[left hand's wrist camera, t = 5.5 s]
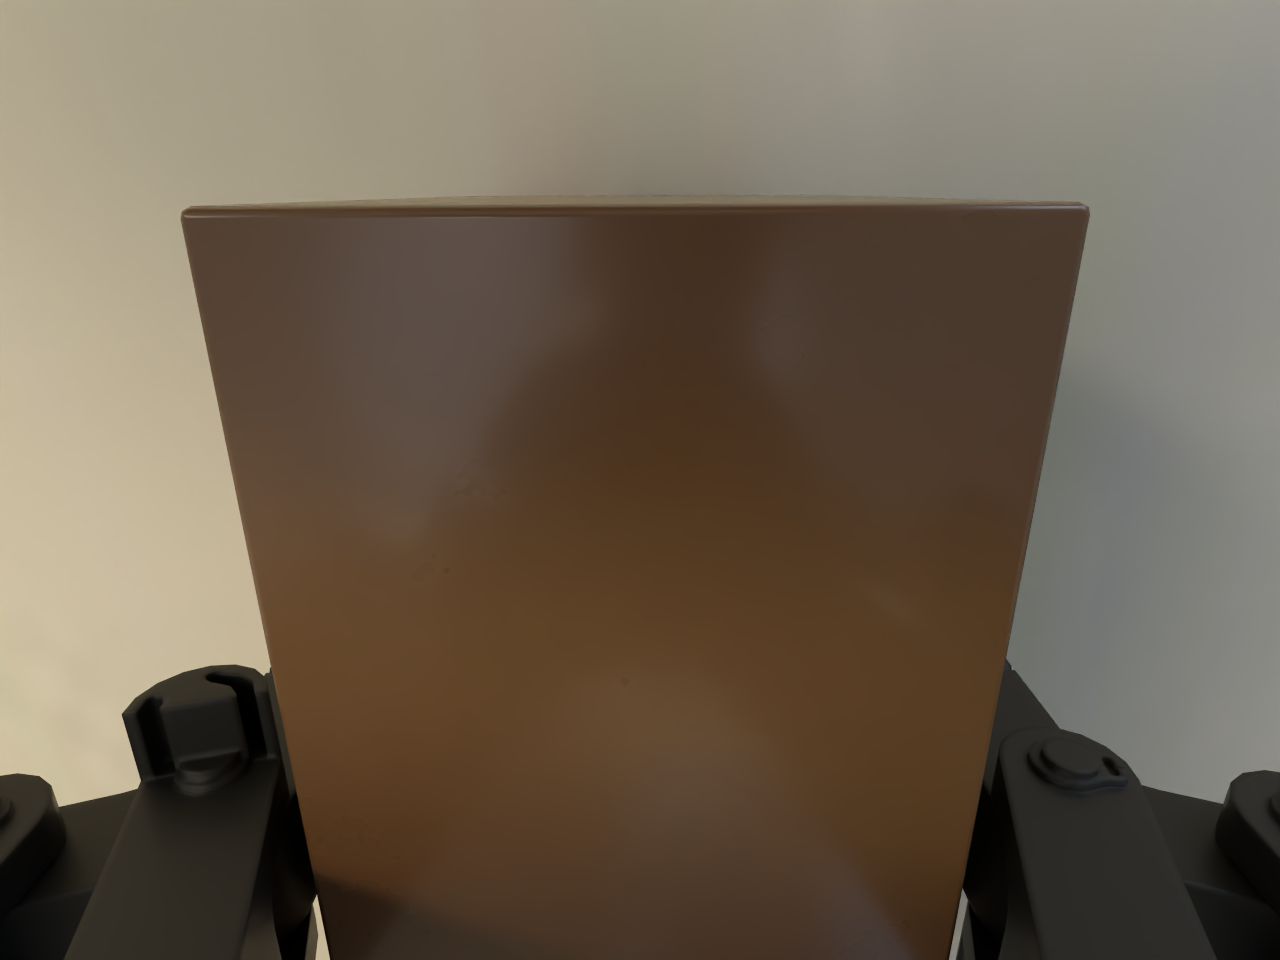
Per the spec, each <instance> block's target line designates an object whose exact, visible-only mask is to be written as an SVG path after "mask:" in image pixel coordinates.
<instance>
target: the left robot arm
mask: <svg viewBox="0 0 1280 960" xmlns="http://www.w3.org/2000/svg"><path fill="white" fill-rule="evenodd" d="M122 717H123V720H124V724H125V727H126V731H127V734H128V738H129V741H130V744H131V748H132V751H133V755H134V758H135V762H136V765H137V769H138V772H139V775H140V779H141V782H140V785H139V787H138V789H135V790H132V791H128V792H125V793H121V794H117V795H112V796H107V797H103V798H98V799H94V800H89V801H85V802H80V803H75V804H71V805H66V806H62V807H58V804H57V801H56V798H55V795H54V792H53V789H52V786H51V785H50V784H48V783H47V782H46V781H45V780H43V779H42V778H41V777H40V776H34V775H26V774H18V773H17V774H10V775H4V776H0V960H315V958H316V949H317V940H318V932H317V925H316V918H315V913H314V908H313V902H314V900H315V897H316V895H317V891H316V886H315V881H314V876H313V871H312V866H311V861H310V856H309V851H308V846H307V842H306V837H305V832H304V827H303V822H302V817H301V812H300V807H299V802H298V797H297V792H296V787H295V782H294V777H293V772H292V767H291V762H290V757H289V752H288V747H287V743H286V738H285V733H284V728H283V723H282V718H281V713H280V708H279V703H278V698H277V693H276V688H275V683H274V678H273V673H272V668H270V673H266V674H265V675H264V676H263V675H262V674H260V673H259V672H258V671H257V670H256V669H253V668H249V667H244V666H239V665H217V666H208V667H204V668H199V669H195V670H191V671H187V672H183V673H181V674H178V675H176V676H174V677H171V678H169V679H167V680H164V681H162V682H159V683H157V684H156V685H154V686H153V687H151V688H150V689H148V690H147V691H145V692H144V693H142V694H141V695H139V696H138V697H136V698H135V699H134V700H133V702H132V703H131V704H130V705H129V706H128V707H127V709H126V710H125V711H124V712H123V713H122ZM962 888H963V890H964V892H965V894H966V896H967V898H968V903H967V908H966V913H965V918H964V923H963V927H962V932H961V937H960V942H959V947H958V952H957V957H956V960H1280V772H1273V771H1267V770H1262V771H1254V772H1246V773H1242V774H1241V775H1240V776H1238V777H1237V778H1236V779H1234V780H1233V781H1232V782H1231V783H1230V786H1229V789H1228V792H1227V795H1226V798H1225V801H1224V803H1223V804H1221V803H1216V802H1211V801H1207V800H1202V799H1198V798H1193V797H1188V796H1184V795H1179V794H1175V793H1170V792H1166V791H1161V790H1157V789H1154V788H1150V787H1147V786H1143V785H1141V783H1140V781H1139V779H1138V778H1137V777H1136V775H1135V774H1134V772H1133V771H1132V770H1131V768H1130V767H1129V765H1128V764H1127V763H1126V762H1125V761H1124V760H1123V759H1121V758H1120V757H1119V756H1117V755H1116V754H1115V753H1113V752H1112V751H1111V750H1110V749H1108V748H1107V747H1106V746H1104V745H1101V744H1099V743H1097V742H1095V741H1093V740H1091V739H1089V738H1087V737H1085V736H1083V735H1081V734H1077V733H1073V732H1070V731H1066V730H1062V729H1060V728H1059V727H1058V726H1057V724H1056V723H1055V722H1054V721H1053V719H1052V718H1051V717H1050V715H1049V714H1048V713H1047V711H1046V710H1045V709H1044V708H1043V706H1042V705H1041V704H1040V702H1039V701H1038V700H1037V698H1036V697H1035V696H1034V695H1033V693H1032V692H1031V691H1030V689H1029V688H1028V687H1027V685H1026V684H1025V683H1024V681H1023V680H1022V679H1021V678H1020V676H1019V675H1018V674H1017V672H1016V671H1015V670H1012V669H1011V665H1010V663H1009V662H1008V661H1007V659H1006V660H1005V665H1004V671H1003V676H1002V681H1001V686H1000V692H999V697H998V702H997V707H996V713H995V718H994V723H993V729H992V734H991V739H990V744H989V750H988V755H987V760H986V766H985V771H984V776H983V781H982V787H981V792H980V797H979V803H978V808H977V813H976V818H975V824H974V829H973V834H972V840H971V845H970V850H969V855H968V861H967V866H966V871H965V877H964V882H963V887H962Z"/></svg>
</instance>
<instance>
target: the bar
mask: <svg viewBox="0 0 1280 960" xmlns="http://www.w3.org/2000/svg"><path fill="white" fill-rule="evenodd" d="M1089 216H1090V213H1089V207H1088V206H1086V205H1084V204H1082V203H1080V202H1055V201H1018V200H981V199H944V198H906V197H869V196H832V195H634V196H469V197H440V198H411V199H383V200H354V201H326V202H297V203H269V204H240V205H211V206H191V207H189V208H187V209H185V210H183V211H182V213H181V223H182V228H183V233H184V238H185V242H186V247H187V252H188V257H189V262H190V267H191V272H192V277H193V282H194V287H195V292H196V297H197V302H198V307H199V312H200V317H201V322H202V327H203V332H204V337H205V341H206V346H207V351H208V356H209V361H210V366H211V371H212V376H213V381H214V386H215V391H216V396H217V401H218V406H219V411H220V416H221V421H222V426H223V431H224V436H225V440H226V445H227V450H228V455H229V460H230V465H231V470H232V475H233V480H234V485H235V490H236V495H237V500H238V505H239V510H240V515H241V520H242V525H243V530H244V535H245V540H246V544H247V549H248V554H249V559H250V564H251V569H252V574H253V579H254V584H255V589H256V594H257V599H258V604H259V609H260V614H261V619H262V624H263V629H264V634H265V639H266V643H267V648H268V653H269V658H270V663H271V668H272V673H273V678H274V683H275V688H276V693H277V698H278V703H279V708H280V713H281V718H282V723H283V728H284V733H285V738H286V743H287V747H288V752H289V757H290V762H291V767H292V772H293V777H294V782H295V787H296V792H297V797H298V802H299V807H300V812H301V817H302V822H303V827H304V832H305V837H306V842H307V846H308V851H309V856H310V861H311V866H312V871H313V876H314V881H315V886H316V891H317V896H318V901H319V906H320V911H321V916H322V921H323V926H324V931H325V936H326V941H327V946H328V950H329V955H330V960H949V956H950V951H951V945H952V940H953V935H954V929H955V924H956V919H957V914H958V908H959V903H960V898H961V892H962V887H963V882H964V877H965V871H966V866H967V861H968V855H969V850H970V845H971V840H972V834H973V829H974V824H975V818H976V813H977V808H978V803H979V797H980V792H981V787H982V781H983V776H984V771H985V766H986V760H987V755H988V750H989V744H990V739H991V734H992V729H993V723H994V718H995V713H996V707H997V702H998V697H999V692H1000V686H1001V681H1002V676H1003V671H1004V665H1005V660H1006V655H1007V649H1008V644H1009V639H1010V634H1011V628H1012V623H1013V618H1014V612H1015V607H1016V602H1017V597H1018V591H1019V586H1020V581H1021V575H1022V570H1023V565H1024V560H1025V554H1026V549H1027V544H1028V538H1029V533H1030V528H1031V523H1032V517H1033V512H1034V507H1035V501H1036V496H1037V491H1038V486H1039V480H1040V475H1041V470H1042V464H1043V459H1044V454H1045V449H1046V443H1047V438H1048V433H1049V427H1050V422H1051V417H1052V412H1053V406H1054V401H1055V396H1056V390H1057V385H1058V380H1059V375H1060V369H1061V364H1062V359H1063V354H1064V348H1065V343H1066V338H1067V332H1068V327H1069V322H1070V317H1071V311H1072V306H1073V301H1074V295H1075V290H1076V285H1077V280H1078V274H1079V269H1080V264H1081V258H1082V253H1083V248H1084V243H1085V237H1086V232H1087V227H1088V221H1089Z"/></svg>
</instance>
